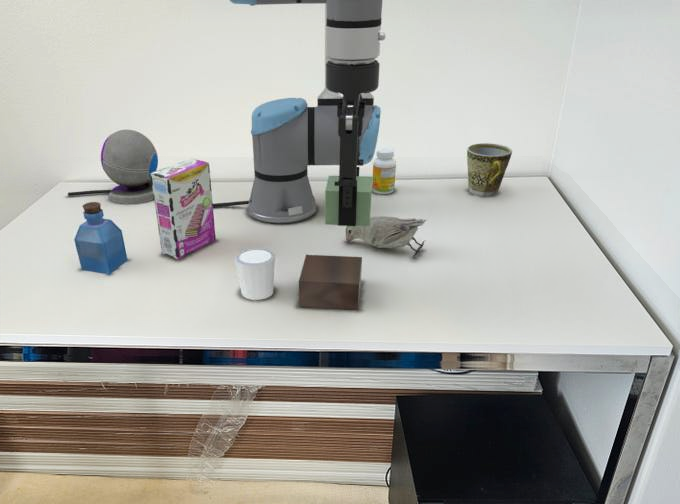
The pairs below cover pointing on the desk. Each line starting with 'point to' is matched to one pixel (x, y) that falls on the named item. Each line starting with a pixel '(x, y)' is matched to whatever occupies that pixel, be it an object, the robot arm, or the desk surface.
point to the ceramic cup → (486, 167)
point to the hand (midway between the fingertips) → (348, 215)
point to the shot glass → (256, 273)
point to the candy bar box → (184, 207)
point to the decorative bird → (387, 232)
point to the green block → (362, 201)
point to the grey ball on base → (129, 166)
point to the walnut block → (330, 282)
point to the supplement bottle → (384, 171)
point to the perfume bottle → (99, 242)
